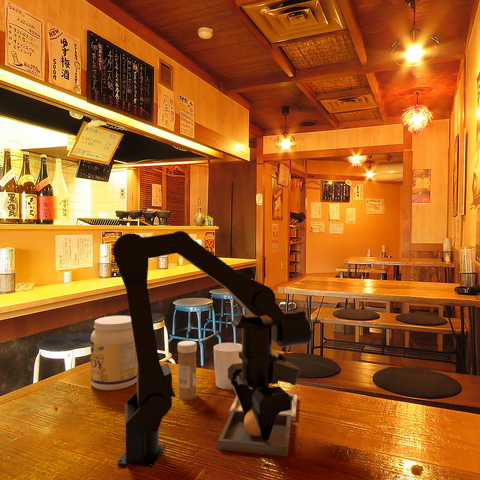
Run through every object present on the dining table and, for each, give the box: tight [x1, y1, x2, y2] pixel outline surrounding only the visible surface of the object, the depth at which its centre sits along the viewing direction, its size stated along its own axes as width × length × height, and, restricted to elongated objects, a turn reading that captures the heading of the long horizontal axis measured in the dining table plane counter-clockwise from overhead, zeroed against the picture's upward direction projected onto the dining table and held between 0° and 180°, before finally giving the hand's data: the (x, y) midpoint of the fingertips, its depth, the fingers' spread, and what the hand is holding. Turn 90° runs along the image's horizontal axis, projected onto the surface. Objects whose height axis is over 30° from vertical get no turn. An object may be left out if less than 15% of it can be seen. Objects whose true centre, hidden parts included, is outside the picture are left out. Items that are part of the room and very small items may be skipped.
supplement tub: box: [90, 315, 138, 391], centre depth 102 cm, size 12×12×17 cm
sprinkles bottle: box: [177, 340, 198, 401], centre depth 92 cm, size 5×5×14 cm
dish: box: [217, 410, 292, 457], centre depth 74 cm, size 12×12×2 cm
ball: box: [244, 409, 261, 437], centre depth 74 cm, size 5×5×5 cm
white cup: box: [213, 342, 242, 390], centre depth 101 cm, size 8×8×10 cm
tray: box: [228, 393, 298, 422], centre depth 86 cm, size 11×14×2 cm
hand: (256, 429), depth 74 cm, fingers open, 8 cm apart
